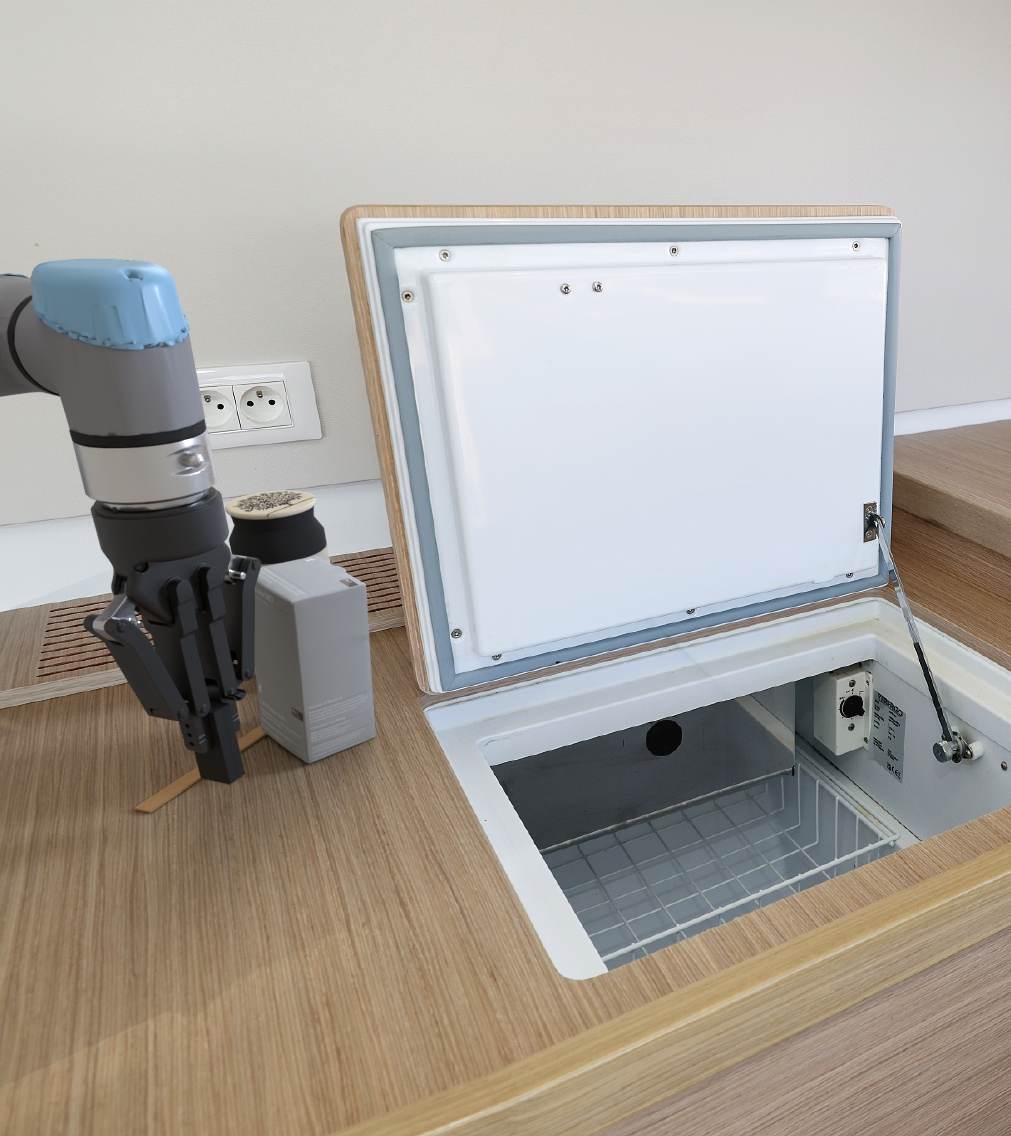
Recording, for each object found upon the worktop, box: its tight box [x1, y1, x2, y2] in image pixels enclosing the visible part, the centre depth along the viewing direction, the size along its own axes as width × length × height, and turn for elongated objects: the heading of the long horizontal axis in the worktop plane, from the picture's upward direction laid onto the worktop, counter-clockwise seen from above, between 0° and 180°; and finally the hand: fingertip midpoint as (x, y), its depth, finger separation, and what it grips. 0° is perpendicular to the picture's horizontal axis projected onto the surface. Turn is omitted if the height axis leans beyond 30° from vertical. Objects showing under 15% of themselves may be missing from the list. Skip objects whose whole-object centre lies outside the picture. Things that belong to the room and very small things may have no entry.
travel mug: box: [224, 489, 331, 567], centre depth 93 cm, size 8×8×18 cm
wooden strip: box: [133, 724, 269, 814], centre depth 83 cm, size 2×18×1 cm, turn 167°
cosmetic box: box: [254, 556, 377, 764], centre depth 83 cm, size 8×7×16 cm
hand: (223, 776), depth 75 cm, fingers closed
